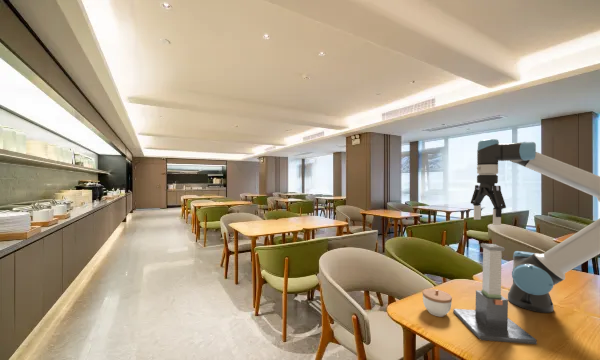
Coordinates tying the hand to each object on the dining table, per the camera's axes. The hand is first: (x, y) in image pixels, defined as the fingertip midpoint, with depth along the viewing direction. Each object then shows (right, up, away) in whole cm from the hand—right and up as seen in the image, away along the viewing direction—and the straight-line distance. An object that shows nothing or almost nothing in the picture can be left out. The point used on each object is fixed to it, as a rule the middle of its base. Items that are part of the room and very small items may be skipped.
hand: (486, 222), depth 112 cm
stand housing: (-11, -37, -18) cm, 42 cm away
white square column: (-11, -27, -18) cm, 34 cm away
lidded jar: (-27, -37, -8) cm, 46 cm away
